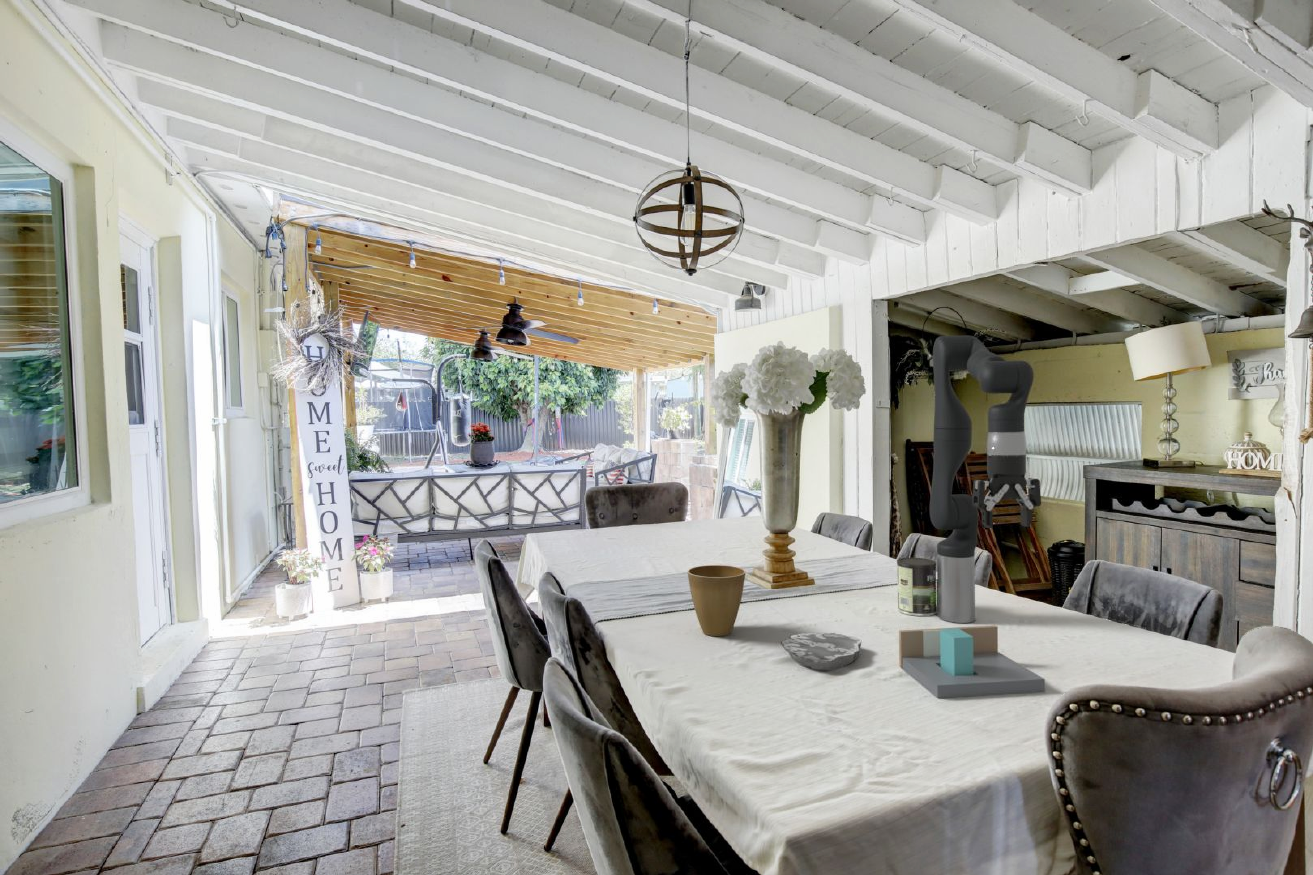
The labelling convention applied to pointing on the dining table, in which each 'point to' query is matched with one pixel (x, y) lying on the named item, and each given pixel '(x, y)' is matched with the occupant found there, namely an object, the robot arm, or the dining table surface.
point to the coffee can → (916, 586)
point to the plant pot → (716, 596)
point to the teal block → (956, 652)
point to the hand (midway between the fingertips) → (1006, 526)
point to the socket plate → (988, 665)
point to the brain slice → (822, 650)
